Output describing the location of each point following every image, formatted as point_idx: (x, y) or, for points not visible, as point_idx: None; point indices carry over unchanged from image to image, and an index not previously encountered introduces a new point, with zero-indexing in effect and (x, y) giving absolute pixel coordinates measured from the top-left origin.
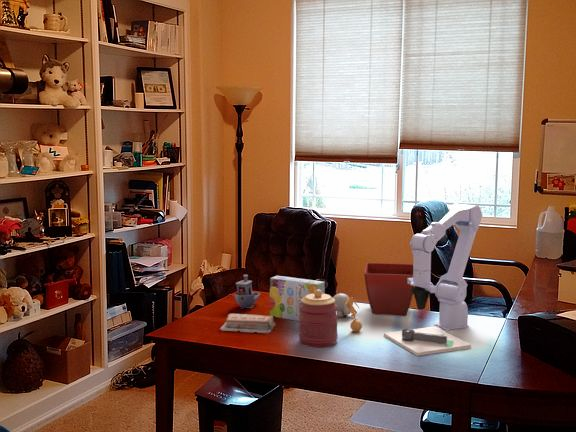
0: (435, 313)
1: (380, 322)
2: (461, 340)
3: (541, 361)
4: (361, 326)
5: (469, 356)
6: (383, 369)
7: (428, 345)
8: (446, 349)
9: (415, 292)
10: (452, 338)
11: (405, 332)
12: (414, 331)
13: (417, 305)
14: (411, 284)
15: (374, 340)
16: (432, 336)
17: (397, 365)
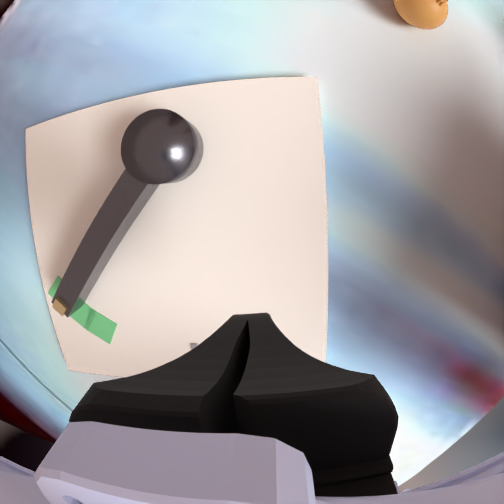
0: (461, 426)
1: (493, 184)
2: (113, 373)
3: (7, 421)
4: (408, 15)
5: (11, 307)
6: (7, 10)
7: (74, 211)
8: (41, 265)
9: (241, 389)
10: (140, 359)
11: (135, 119)
12: (289, 250)
13: (255, 320)
14: (153, 458)
15: (261, 17)
16: (77, 251)
17: (6, 48)
